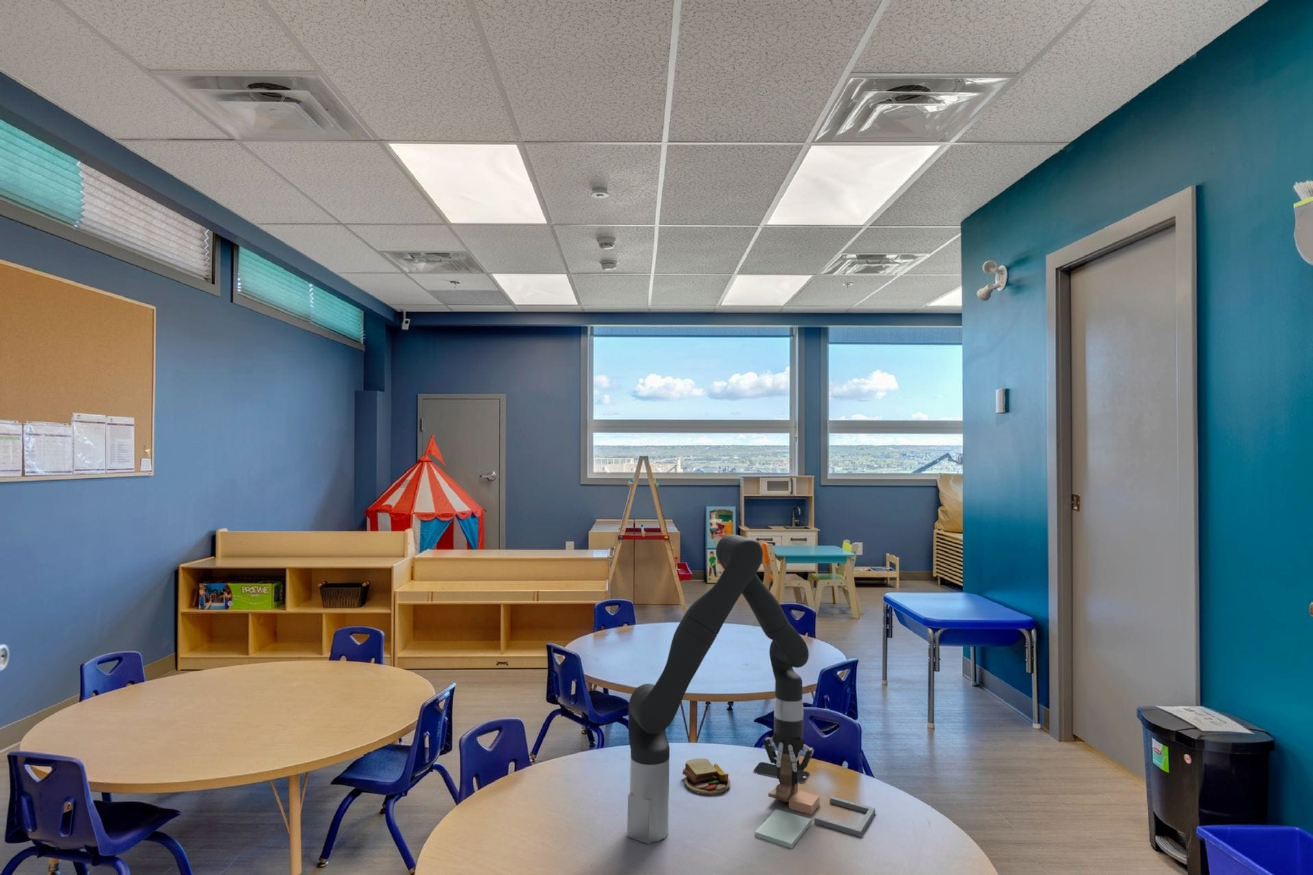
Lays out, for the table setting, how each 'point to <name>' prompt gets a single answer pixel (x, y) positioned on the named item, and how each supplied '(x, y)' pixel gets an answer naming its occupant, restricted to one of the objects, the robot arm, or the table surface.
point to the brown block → (784, 781)
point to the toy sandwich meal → (705, 777)
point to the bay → (847, 828)
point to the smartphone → (772, 771)
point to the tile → (804, 802)
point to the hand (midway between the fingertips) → (788, 782)
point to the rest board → (783, 828)
